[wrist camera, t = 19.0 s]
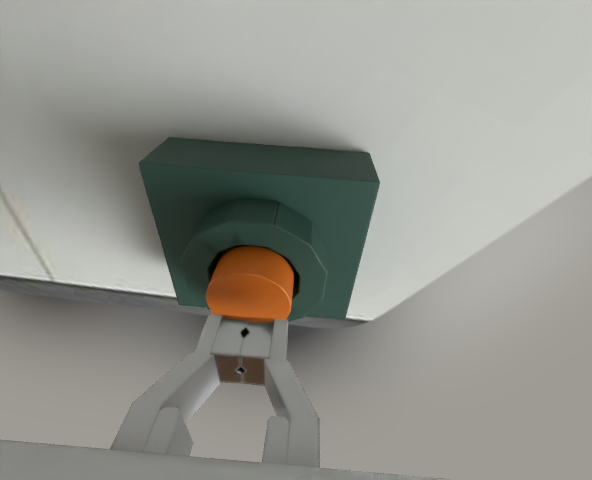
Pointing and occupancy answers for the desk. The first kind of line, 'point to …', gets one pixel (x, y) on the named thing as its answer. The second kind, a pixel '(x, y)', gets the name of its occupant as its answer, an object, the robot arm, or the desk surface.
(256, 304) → the power button
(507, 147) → the desk surface
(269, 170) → the base unit
